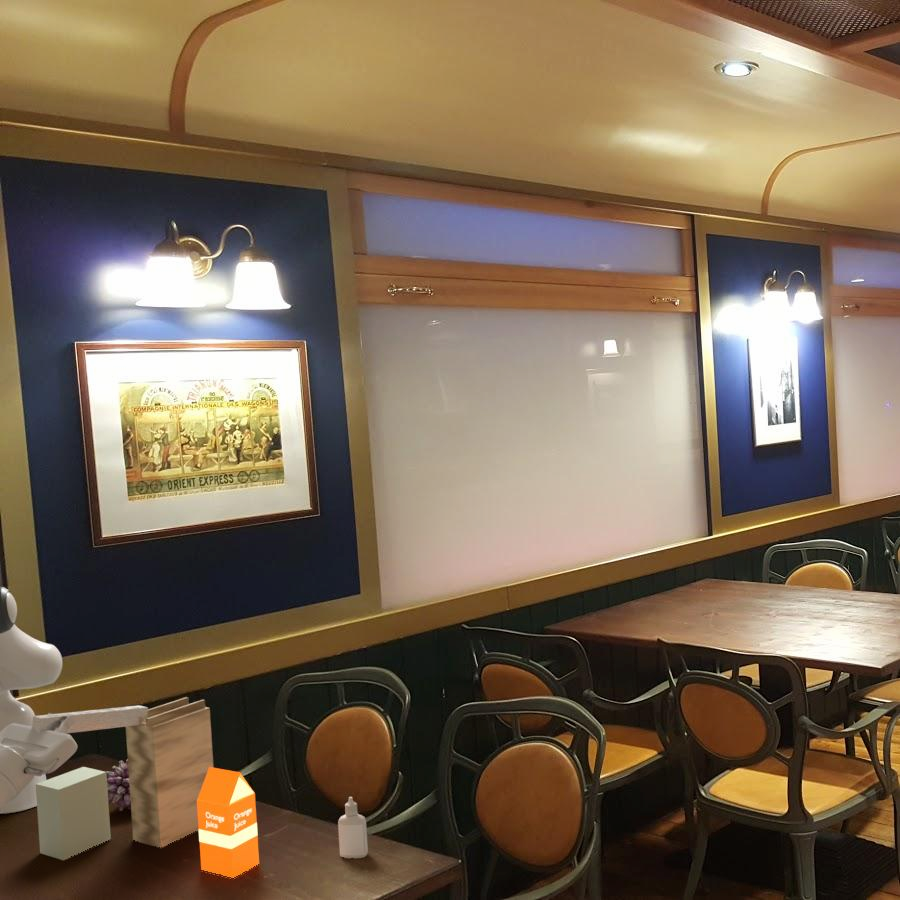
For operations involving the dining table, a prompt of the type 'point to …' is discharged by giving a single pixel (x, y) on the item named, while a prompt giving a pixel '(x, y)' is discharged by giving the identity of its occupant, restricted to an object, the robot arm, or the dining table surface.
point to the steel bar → (93, 719)
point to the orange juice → (227, 824)
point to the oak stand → (168, 770)
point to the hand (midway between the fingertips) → (62, 717)
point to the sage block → (73, 812)
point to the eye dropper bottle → (352, 832)
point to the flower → (119, 786)
